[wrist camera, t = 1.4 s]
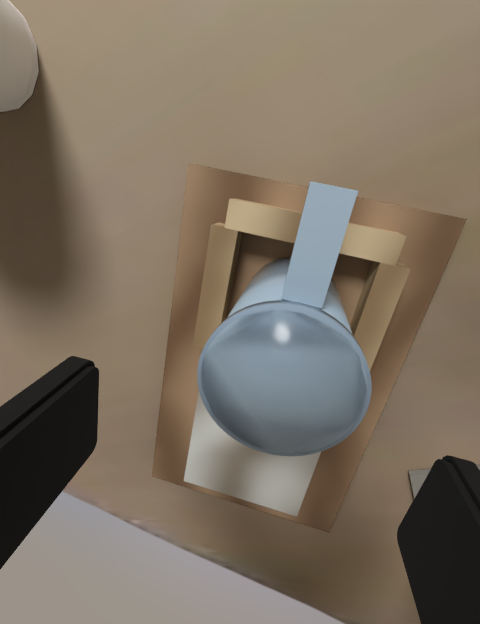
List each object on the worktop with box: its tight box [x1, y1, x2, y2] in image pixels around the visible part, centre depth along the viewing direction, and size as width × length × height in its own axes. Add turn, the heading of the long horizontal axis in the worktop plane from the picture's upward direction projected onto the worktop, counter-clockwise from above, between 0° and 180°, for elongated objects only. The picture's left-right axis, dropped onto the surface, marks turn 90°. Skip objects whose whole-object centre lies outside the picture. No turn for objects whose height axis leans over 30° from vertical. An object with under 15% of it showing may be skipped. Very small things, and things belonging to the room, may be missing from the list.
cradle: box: [193, 198, 411, 370], centre depth 20 cm, size 11×11×2 cm
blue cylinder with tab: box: [197, 181, 372, 456], centre depth 16 cm, size 10×6×10 cm, turn 169°
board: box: [152, 163, 467, 532], centre depth 24 cm, size 16×26×2 cm, turn 169°
